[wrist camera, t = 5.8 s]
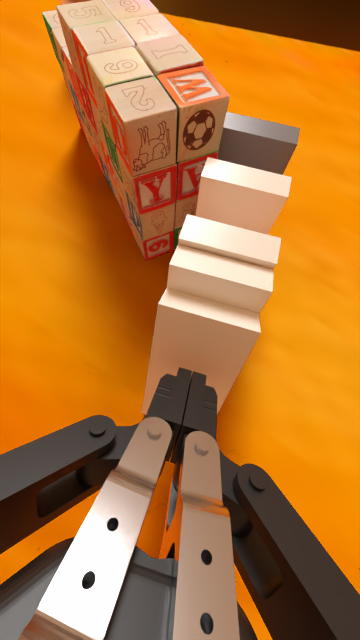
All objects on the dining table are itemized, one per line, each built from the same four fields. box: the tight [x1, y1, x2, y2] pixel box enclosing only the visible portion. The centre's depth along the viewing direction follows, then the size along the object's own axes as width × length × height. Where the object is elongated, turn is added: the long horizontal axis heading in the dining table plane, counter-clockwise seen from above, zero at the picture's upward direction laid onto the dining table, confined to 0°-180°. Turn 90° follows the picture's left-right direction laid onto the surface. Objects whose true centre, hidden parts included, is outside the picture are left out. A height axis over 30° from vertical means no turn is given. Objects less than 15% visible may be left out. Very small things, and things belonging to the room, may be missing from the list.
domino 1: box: [218, 112, 300, 175], centre depth 20 cm, size 5×2×10 cm, turn 74°
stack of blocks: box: [42, 0, 229, 260], centre depth 21 cm, size 21×6×12 cm, turn 26°
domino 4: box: [167, 245, 273, 313], centre depth 16 cm, size 5×2×10 cm, turn 74°
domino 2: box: [196, 157, 292, 235], centre depth 18 cm, size 5×2×10 cm, turn 74°
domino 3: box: [178, 214, 281, 270], centre depth 17 cm, size 5×2×10 cm, turn 74°
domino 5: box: [142, 288, 261, 415], centre depth 15 cm, size 5×2×10 cm
